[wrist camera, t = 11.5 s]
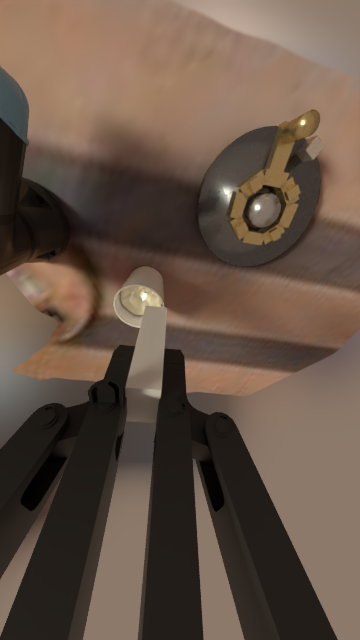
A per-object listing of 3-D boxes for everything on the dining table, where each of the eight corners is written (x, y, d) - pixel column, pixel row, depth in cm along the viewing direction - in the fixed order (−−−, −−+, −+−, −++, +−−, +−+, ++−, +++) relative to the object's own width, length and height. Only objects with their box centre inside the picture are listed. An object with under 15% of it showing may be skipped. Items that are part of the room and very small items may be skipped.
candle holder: (173, 289, 48) (173, 315, 38) (142, 305, 51) (134, 334, 41) (151, 254, 43) (145, 275, 33) (117, 275, 46) (102, 299, 36)
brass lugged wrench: (272, 244, 39) (289, 255, 33) (220, 235, 38) (229, 244, 32) (319, 133, 30) (355, 120, 24) (252, 116, 28) (272, 98, 22)
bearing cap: (188, 254, 43) (190, 265, 37) (211, 117, 31) (219, 102, 25) (279, 268, 45) (294, 279, 40) (335, 144, 33) (369, 136, 27)
